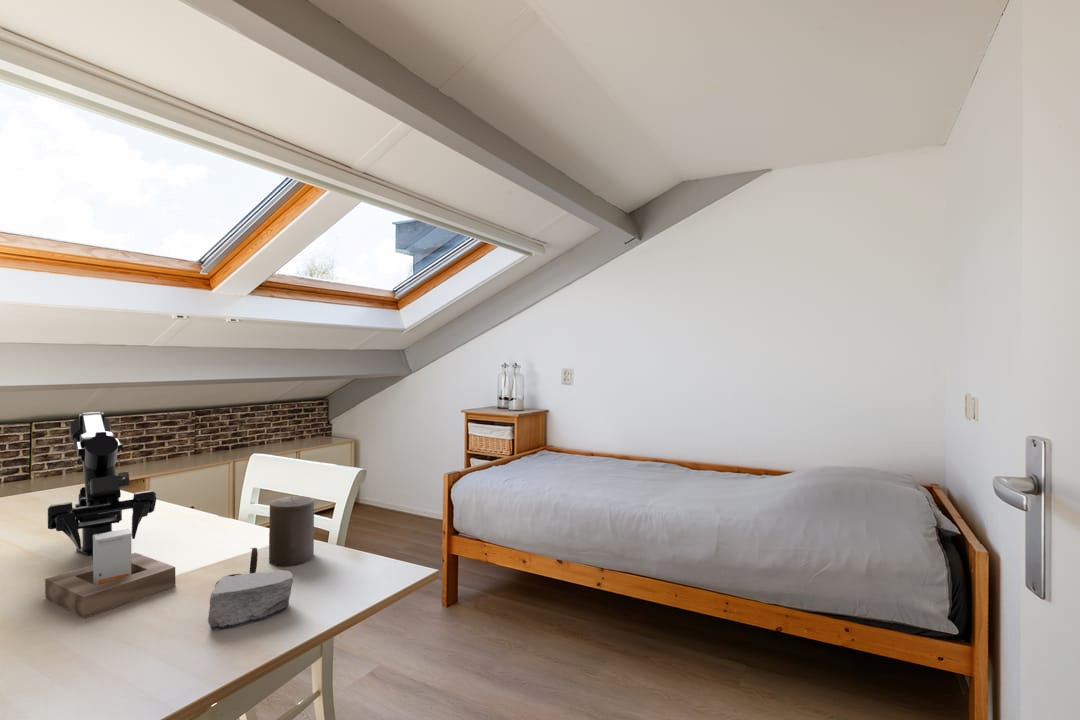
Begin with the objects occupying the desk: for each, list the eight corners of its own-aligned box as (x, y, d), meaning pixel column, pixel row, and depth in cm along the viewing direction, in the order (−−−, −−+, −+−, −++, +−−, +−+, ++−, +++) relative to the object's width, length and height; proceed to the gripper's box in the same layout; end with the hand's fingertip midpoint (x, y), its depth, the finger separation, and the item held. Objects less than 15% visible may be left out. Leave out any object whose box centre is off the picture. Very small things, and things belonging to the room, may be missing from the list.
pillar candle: (276, 570, 126) (276, 503, 126) (263, 557, 133) (264, 494, 133) (320, 559, 132) (320, 496, 132) (305, 548, 140) (306, 488, 139)
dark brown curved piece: (215, 582, 119) (215, 548, 119) (257, 575, 123) (257, 542, 123) (214, 598, 112) (213, 562, 112) (258, 590, 116) (258, 555, 116)
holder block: (45, 598, 111) (45, 578, 111) (135, 570, 125) (135, 552, 125) (84, 618, 104) (83, 596, 103) (175, 585, 118) (175, 566, 117)
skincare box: (95, 600, 111) (93, 540, 111) (93, 592, 114) (91, 534, 114) (132, 590, 115) (131, 533, 115) (129, 584, 118) (128, 527, 118)
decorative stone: (197, 620, 104) (214, 638, 97) (197, 583, 104) (213, 598, 97) (280, 596, 114) (300, 611, 107) (279, 562, 114) (299, 574, 107)
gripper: (46, 467, 117) (50, 533, 109) (154, 455, 130) (164, 514, 122) (46, 496, 123) (49, 561, 115) (149, 482, 136) (157, 540, 128)
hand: (107, 543), depth 120 cm, fingers open, 9 cm apart
